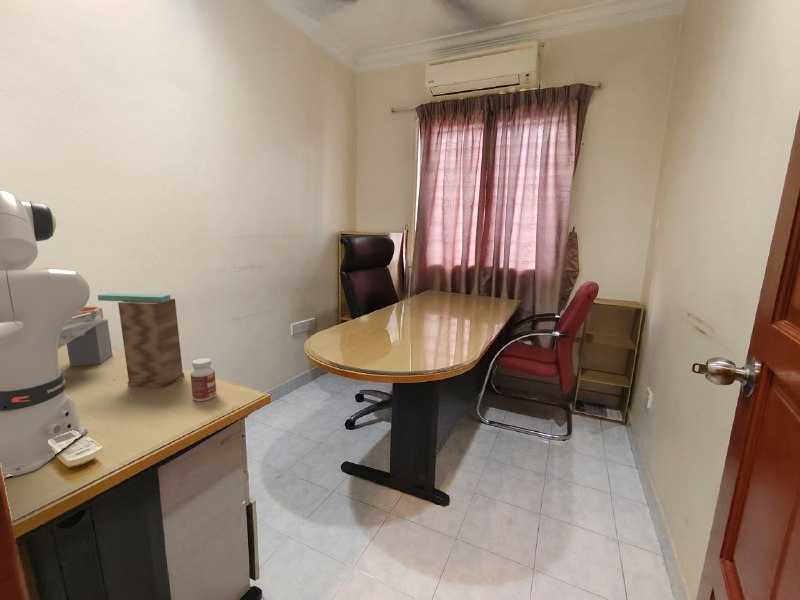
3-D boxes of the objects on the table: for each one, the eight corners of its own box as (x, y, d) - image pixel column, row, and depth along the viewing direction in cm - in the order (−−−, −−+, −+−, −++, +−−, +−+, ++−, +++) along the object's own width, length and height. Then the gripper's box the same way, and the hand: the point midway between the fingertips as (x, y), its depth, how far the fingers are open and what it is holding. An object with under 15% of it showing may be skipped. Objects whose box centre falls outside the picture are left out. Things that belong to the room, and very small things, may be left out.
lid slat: (98, 300, 112) (97, 295, 112) (109, 297, 116) (108, 292, 116) (161, 302, 111) (161, 297, 110) (170, 299, 115) (170, 294, 114)
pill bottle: (212, 401, 105) (209, 364, 103) (189, 402, 104) (185, 365, 102) (219, 391, 111) (216, 356, 109) (197, 392, 110) (194, 357, 108)
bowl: (95, 325, 128) (93, 311, 127) (63, 327, 126) (61, 312, 125) (107, 319, 137) (105, 306, 136) (78, 320, 134) (76, 307, 133)
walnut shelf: (127, 385, 114) (116, 302, 109) (149, 374, 123) (139, 297, 118) (165, 387, 113) (155, 304, 108) (184, 375, 122) (176, 298, 117)
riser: (100, 364, 131) (95, 325, 128) (70, 366, 129) (63, 327, 126) (112, 355, 140) (107, 319, 137) (84, 357, 137) (78, 320, 134)
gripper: (9, 336, 107) (44, 313, 105) (75, 319, 127) (105, 300, 125) (23, 354, 108) (58, 333, 106) (86, 334, 128) (117, 316, 126)
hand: (84, 315), depth 115 cm, fingers open, 8 cm apart
